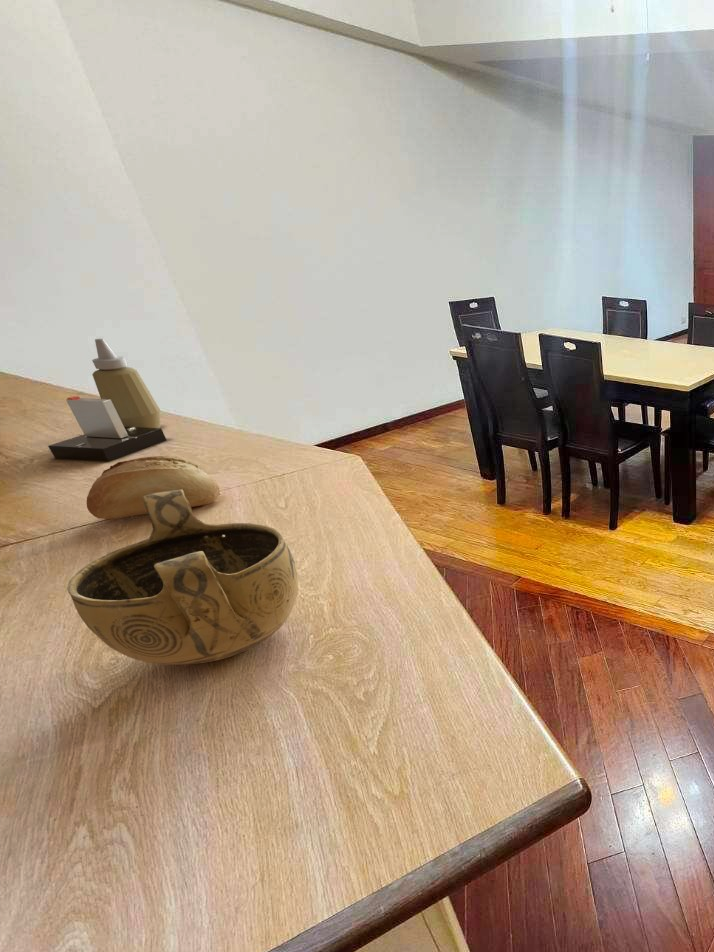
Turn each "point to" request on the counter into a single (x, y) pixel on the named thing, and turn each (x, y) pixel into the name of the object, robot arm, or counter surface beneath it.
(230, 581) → the ceramic bowl
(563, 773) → the counter surface
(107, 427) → the red-tipped white tile
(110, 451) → the panel
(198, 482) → the bread roll
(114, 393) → the squeeze bottle
